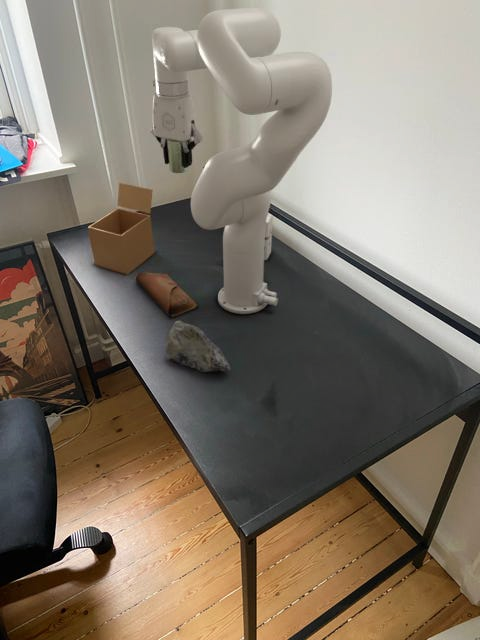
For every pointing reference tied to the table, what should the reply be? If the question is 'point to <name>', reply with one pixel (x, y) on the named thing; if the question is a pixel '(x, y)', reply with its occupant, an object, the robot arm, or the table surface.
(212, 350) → the mineral rock
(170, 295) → the sunglasses case
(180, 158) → the tea tin
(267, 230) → the ink box
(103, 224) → the carton
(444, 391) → the table surface
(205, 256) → the table surface
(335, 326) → the table surface
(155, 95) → the robot arm
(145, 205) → the flap
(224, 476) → the table surface
